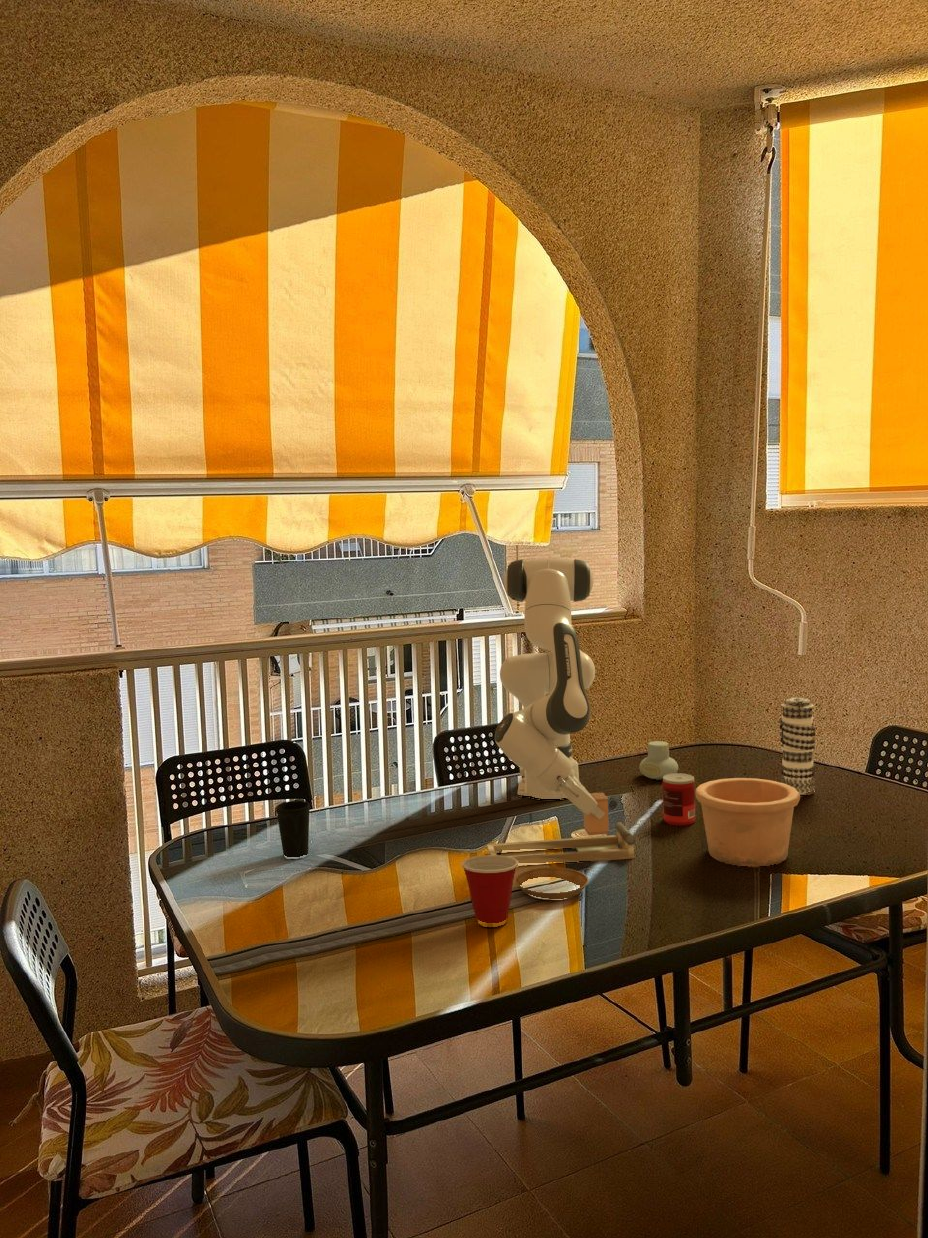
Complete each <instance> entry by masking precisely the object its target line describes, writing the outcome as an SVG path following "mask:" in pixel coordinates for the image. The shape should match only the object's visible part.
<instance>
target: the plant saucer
mask: <svg viewBox="0 0 928 1238" xmlns="http://www.w3.org/2000/svg"><path fill="white" fill-rule="evenodd" d="M538 877H556V878H561V879H564V880H567V881H569V882H572V883H574V884H576V885H580V888H578V889H576V890H572V891H568V892H560V893H543V892H536V891H531V890H528V889H525V888H523V887H521V886H520V885H522V883H523V882H525V881H527V880H528V879H533V878H538ZM515 883H516V885H517V886H518V887H519V889H520V890H521V891H522V890H523V891H522V892H524V894H526V893H527V894H530V895H533V896H536V897H541V898H549V899H564V898H570V897H572V898H574V897H576V896H578V895H579V894H580V893H581V892H582V891H583V890H584V889H585V888H586V886H587V885H588V883H589V878H588V876H587V875H586V874H585V873H583V872H581V871H578V870H575V869H573V868H566V867H554V866H553V867H539V868H533V869H529V870H526V871H524V872H522V873H520V874H518V875H517V876H516V878H515ZM578 893H579V894H578ZM527 894H526V895H527ZM575 895H576V896H575ZM573 896H574V897H573ZM570 899H571V898H570Z"/></svg>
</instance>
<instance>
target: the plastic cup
mask: <svg viewBox="0 0 928 1238" xmlns="http://www.w3.org/2000/svg"><path fill="white" fill-rule="evenodd" d="M512 857H513V856H506V855H501V854H496V855H488V854H484V855H477V856H472V857H467V858H465V859H464V860H462V861H461V867H462V868H463V870H464V875H465V876H466V877H465V878H466V881H467V884H468V891H469V895H470V899H471V904H472V908H473V912H474V917H475V919H476V918H477V919H478V920H480V921H482V922H486V923H499V922H502V921H504V920H506V919H507V918H509V910H510V906H511V898H512V890H513V886H514V885H513V884H514V879H515V874H516V869H517V868H518V867H517V866H518V860H516V859H514V858H512Z"/></svg>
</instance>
